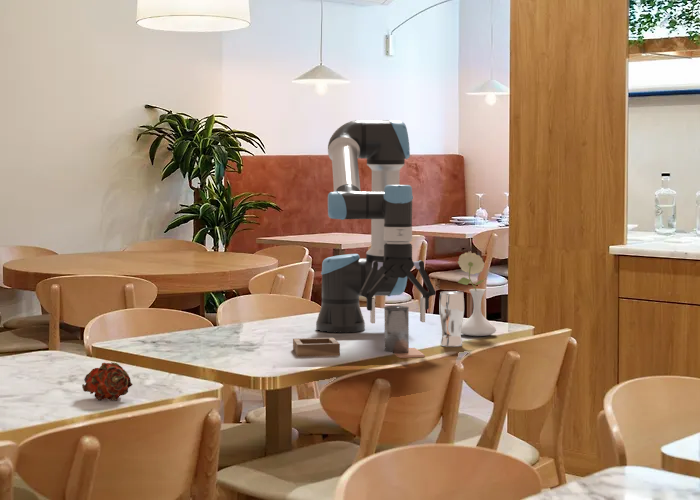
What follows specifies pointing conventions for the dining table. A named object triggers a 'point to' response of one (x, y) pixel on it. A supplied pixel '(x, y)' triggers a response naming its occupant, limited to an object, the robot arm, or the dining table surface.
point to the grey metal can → (397, 329)
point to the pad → (411, 354)
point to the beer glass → (451, 317)
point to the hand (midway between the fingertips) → (397, 322)
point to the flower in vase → (474, 297)
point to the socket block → (316, 347)
